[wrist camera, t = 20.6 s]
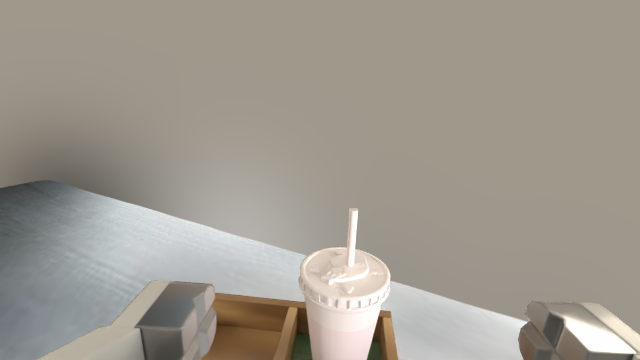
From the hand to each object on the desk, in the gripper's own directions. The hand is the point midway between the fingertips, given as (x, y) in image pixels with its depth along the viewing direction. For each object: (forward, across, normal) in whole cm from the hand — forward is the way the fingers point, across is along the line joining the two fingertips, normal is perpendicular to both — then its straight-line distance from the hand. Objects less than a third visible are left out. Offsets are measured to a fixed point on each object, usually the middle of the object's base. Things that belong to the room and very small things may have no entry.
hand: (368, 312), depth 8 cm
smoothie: (+12, 0, +16) cm, 20 cm away
